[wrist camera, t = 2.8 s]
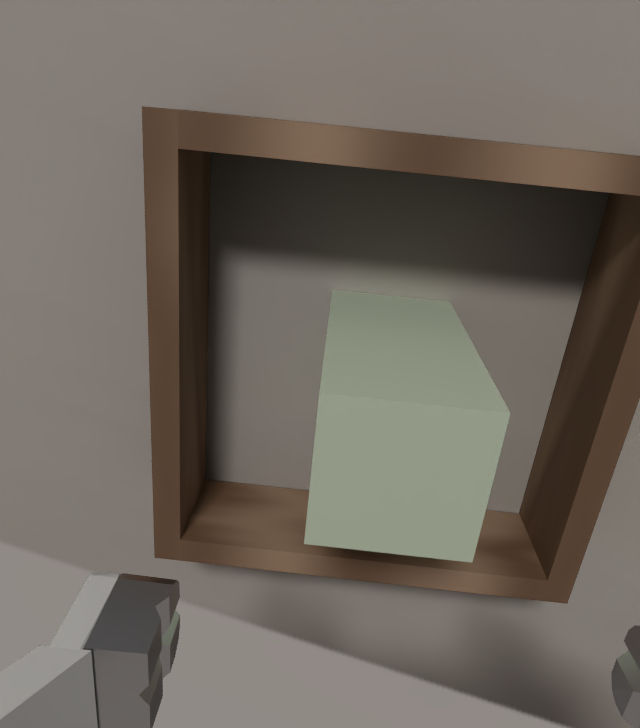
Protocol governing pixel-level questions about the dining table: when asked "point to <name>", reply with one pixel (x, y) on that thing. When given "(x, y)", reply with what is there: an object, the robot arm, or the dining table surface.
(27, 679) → the robot arm
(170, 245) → the walnut crate
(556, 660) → the dining table surface
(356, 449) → the green block
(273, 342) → the dining table surface
